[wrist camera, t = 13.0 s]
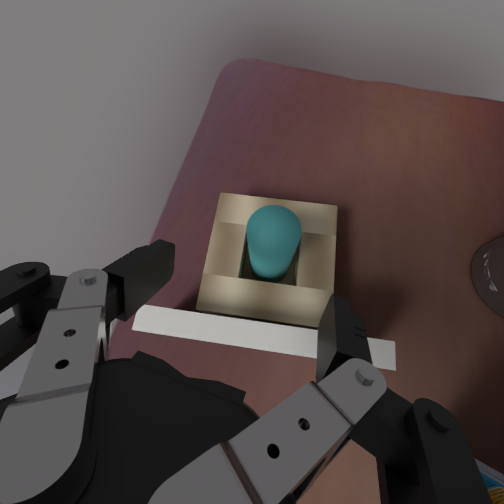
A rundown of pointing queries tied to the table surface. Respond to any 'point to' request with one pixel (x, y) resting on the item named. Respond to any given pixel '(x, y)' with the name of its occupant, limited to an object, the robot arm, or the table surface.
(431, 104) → the table surface
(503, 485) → the beverage bottle
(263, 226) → the teal rounded cylinder
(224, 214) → the socket block
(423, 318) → the table surface
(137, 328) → the backstop wall
